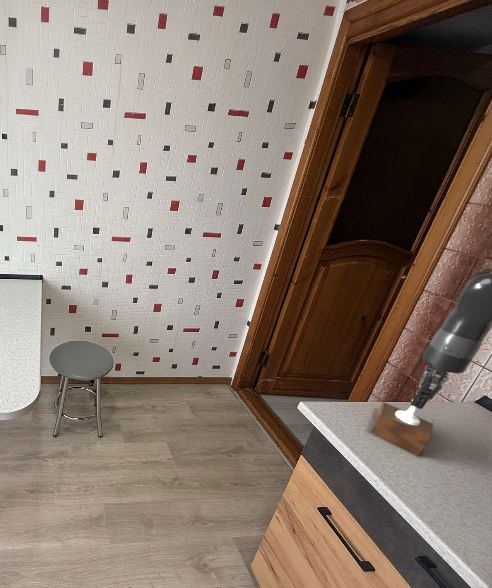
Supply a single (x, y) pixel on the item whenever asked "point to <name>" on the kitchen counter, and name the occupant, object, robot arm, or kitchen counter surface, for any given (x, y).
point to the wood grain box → (401, 430)
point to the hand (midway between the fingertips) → (416, 404)
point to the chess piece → (408, 416)
